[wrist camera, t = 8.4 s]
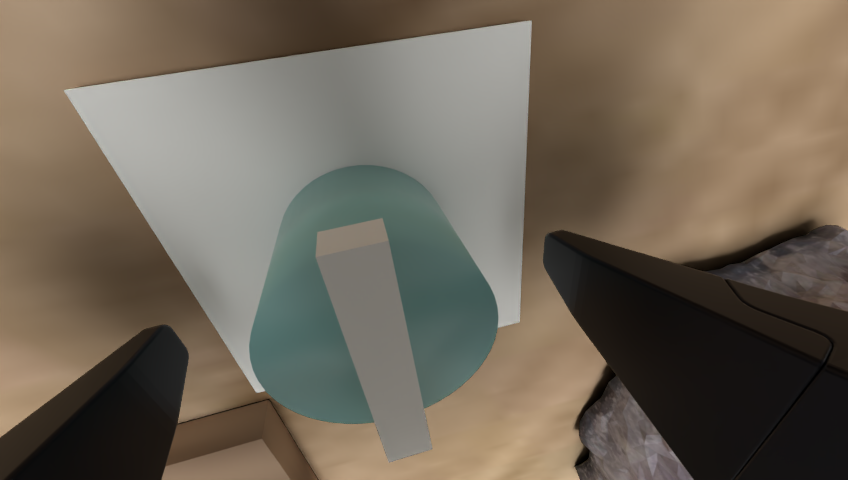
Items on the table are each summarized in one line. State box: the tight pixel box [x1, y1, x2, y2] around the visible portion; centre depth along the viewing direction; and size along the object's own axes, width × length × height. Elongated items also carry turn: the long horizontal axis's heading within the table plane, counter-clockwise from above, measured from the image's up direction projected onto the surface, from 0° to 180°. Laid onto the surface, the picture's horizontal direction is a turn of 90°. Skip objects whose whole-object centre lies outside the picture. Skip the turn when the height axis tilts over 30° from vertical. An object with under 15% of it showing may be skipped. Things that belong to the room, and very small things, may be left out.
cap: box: [249, 165, 498, 462], centre depth 8 cm, size 6×5×5 cm
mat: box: [64, 21, 532, 393], centre depth 10 cm, size 10×10×1 cm
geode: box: [575, 225, 848, 480], centre depth 16 cm, size 20×12×10 cm, turn 177°
